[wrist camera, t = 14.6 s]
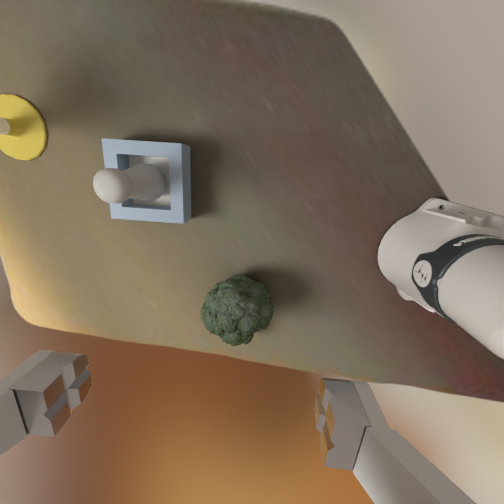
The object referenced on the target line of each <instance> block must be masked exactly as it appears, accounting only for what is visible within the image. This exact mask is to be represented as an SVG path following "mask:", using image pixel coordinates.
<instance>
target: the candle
mask: <svg viewBox="0 0 504 504" xmlns="http://www.w3.org/2000/svg"><path fill="white" fill-rule="evenodd" d="M46 142H47V132H46V127H45V123H44V121H43V119H42V117H41V116H40V114H39V112H38V110H37V109H35V108H34V107H33V106H32V105H31V104H30V103H29V102H28V101H27V100H25V99H23V98H21V97H19V96H17V95H10V94H2V95H0V149H1V150H2V151H3V152H4V153H6V154H7V155H9V156H11V157H13V158H16V159H18V160H32V159H34V158H37V157H39V156H40V155H41V153H42V152H43V151H44V149H45V148H46Z"/></svg>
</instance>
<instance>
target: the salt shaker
mask: <svg viewBox="0 0 504 504" xmlns="http://www.w3.org/2000/svg"><path fill="white" fill-rule="evenodd" d="M165 185H166V182H165V178H164V175H163V173H162V172H161V171H160V170H159V169H158V168H157V167H155V166H153V165H152V164H147V163H141V164H138V165H136V166H133V167H131V168H129V169H126V170H123V171H121V170H119V169H117V168H105V169H102V170H100V171H98V172H97V173H96V175H95V177H94V179H93V187H94V190H95V192H96V194H97V195H98V196H99V197H100V199H101V200H103V201H105V202H107V203H116V204H119V203H122V202H124V201H126V200H128V198H132V199H140V200H148V201H153V200H155V199H157V198H159V197H160V196H161V195H162V194H163V193H164V191H165Z"/></svg>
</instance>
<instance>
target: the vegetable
mask: <svg viewBox="0 0 504 504" xmlns="http://www.w3.org/2000/svg"><path fill="white" fill-rule="evenodd" d="M272 307H273V306H271V302H270V296H269V291H268V289H267V287H266V286H265V285H264V284H261V283H258V282H257V281H254V280H252V279H251V278H250V277H248V276H246V275H242V274H239V275H234V276H232V278H230V279H228V280H226V281H224V282H221V283H217V284H216V285H215V286H214V288H213V290H211V291H210V292H209V293H208V294H207V296H206V299H205V302H204V304H203V305H202V307H201V319H202V320H203V323H204V326H205V327H206V329H207V330H208V331H209V332H210V333H212V334H216V335H218V336H220V337H221V338H222V339H223V342H226V343H228V344H229V343H230V344H231V345H232V346H236V345H240V344H242V343H244V344H248V343H249V342H250V341H251V340H252V338H253V337H254V333H255V332H257V331H259V330H260V328H264V329H265V328H266V327H267V326H268V325H269V323H270V320H271V318H272V316H273V309H272Z"/></svg>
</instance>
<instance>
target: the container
mask: <svg viewBox="0 0 504 504" xmlns="http://www.w3.org/2000/svg"><path fill="white" fill-rule="evenodd" d="M101 139H102V147H103V155H104V163H105V168H117V169H119V170H121V171H123V170H126V169H129V168H131V167H133V166H136V165H138V164H141V163H147V164H152V165H153V166H155V167H157V168H158V169H159V170H160V171H161V172H162V173H163V175H164V178H165V182H166V185H165V191H164V193H163V194H162V195H161V196H160V197H159V198H157V199H155V200H153V201H148V200H140V199H132V198H128V200H126V201H124V202H122V203H119V204H116V203H109V204H110V212H111V218H114V219H128V220H142V221H155V222H169V223H183V224H184V223H185V222H187V221H188V220H190V219H191V166H190V146H188V145H185V144H182V143H166V142H150V141H135V140H119V139H103V138H101Z"/></svg>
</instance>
